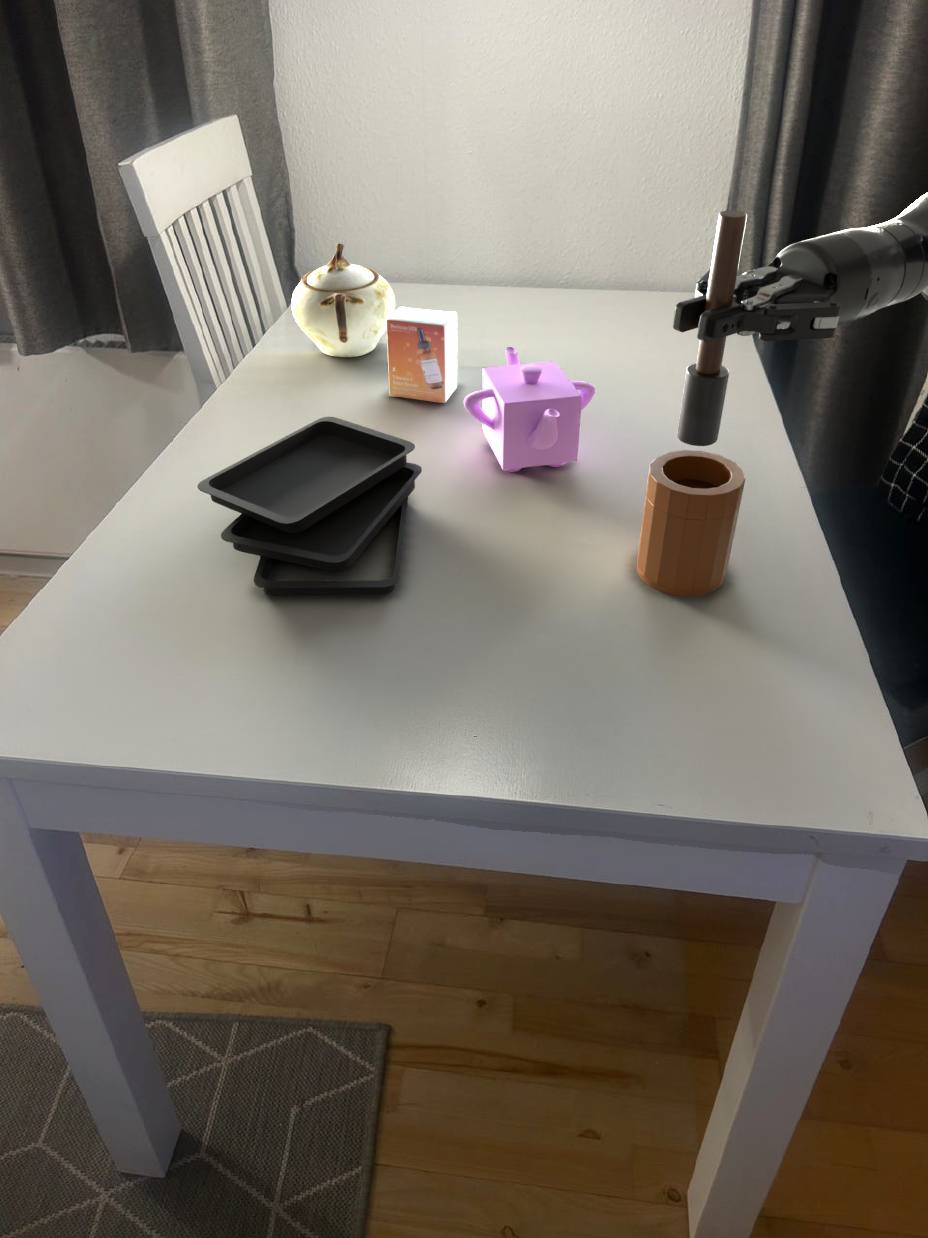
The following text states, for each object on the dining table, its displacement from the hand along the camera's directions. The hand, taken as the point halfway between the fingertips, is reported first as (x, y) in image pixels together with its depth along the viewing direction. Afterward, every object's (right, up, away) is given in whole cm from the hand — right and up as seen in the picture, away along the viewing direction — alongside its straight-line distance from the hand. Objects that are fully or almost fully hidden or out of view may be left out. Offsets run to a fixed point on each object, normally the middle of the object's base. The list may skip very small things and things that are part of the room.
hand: (690, 322), depth 70 cm
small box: (-23, +8, +53) cm, 58 cm away
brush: (+3, -7, +8) cm, 11 cm away
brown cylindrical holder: (+4, -18, +19) cm, 26 cm away
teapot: (-10, -4, +38) cm, 40 cm away
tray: (-33, -13, +26) cm, 44 cm away
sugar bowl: (-35, +18, +66) cm, 77 cm away
